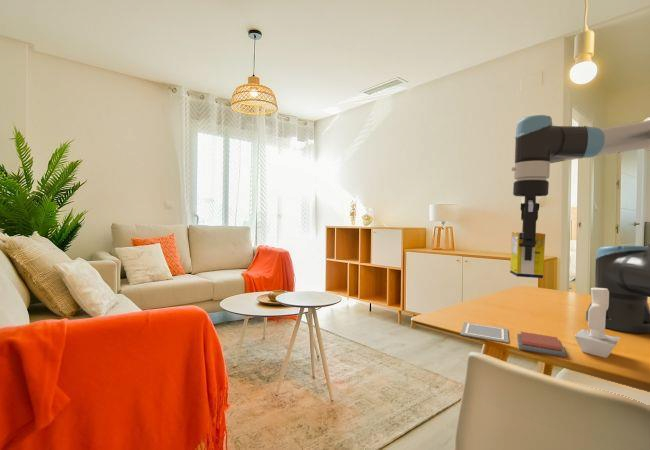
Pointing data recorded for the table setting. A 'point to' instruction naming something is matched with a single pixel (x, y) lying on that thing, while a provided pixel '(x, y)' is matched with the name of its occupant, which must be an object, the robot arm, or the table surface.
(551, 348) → the ink pad
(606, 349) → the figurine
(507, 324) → the table surface
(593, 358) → the table surface
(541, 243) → the supplement box
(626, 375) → the table surface
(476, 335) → the marked card
